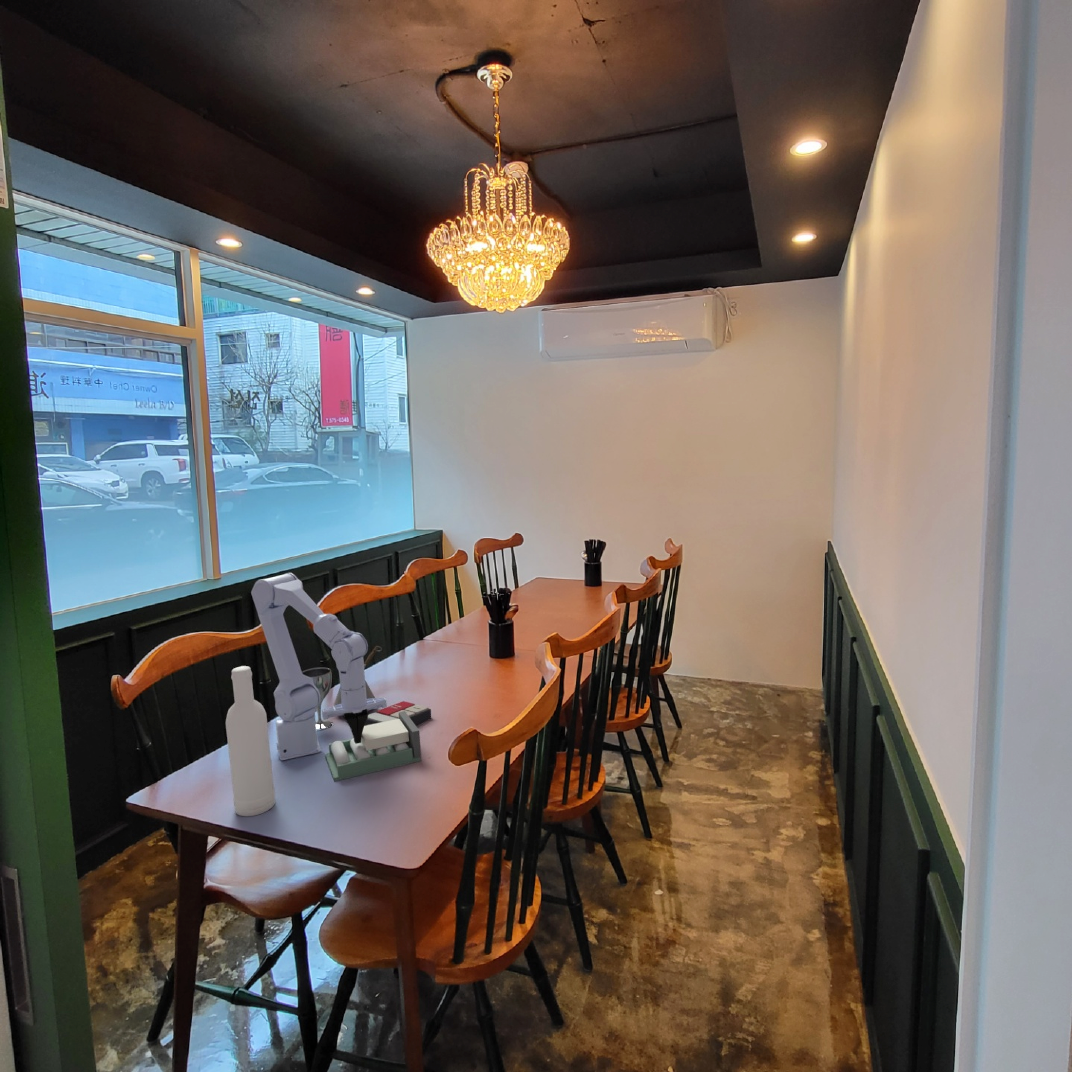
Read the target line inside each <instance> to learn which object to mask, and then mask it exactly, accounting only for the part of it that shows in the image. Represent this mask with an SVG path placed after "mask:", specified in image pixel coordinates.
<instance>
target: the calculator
mask: <svg viewBox="0 0 1072 1072" xmlns="http://www.w3.org/2000/svg"><path fill="white" fill-rule="evenodd" d="M403 711H405V712H406V713H407V715H408V716H409V717H410V719H411V720H412V721H413V723H414V724H415V725H416V727H417V726H420V725H422V724H423V723H425V722H427V721H429V720H431V719H432V709H431V708H430V707H428V706H425V705H421V704H416V703H412V702H409V701H405V700H403V701H400V702H398V703H394V704H392V705H389V706H387V707H386V708H380V709H379V710H377V711H376V712H373V713H370V714H368V718H367V721H366V723H365V725H364V726H367V725H371V724H376V723H381V722H386V721H390V720H395V719H399V712H403Z"/></svg>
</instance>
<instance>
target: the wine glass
mask: <svg viewBox="0 0 1072 1072" xmlns="http://www.w3.org/2000/svg"><path fill="white" fill-rule="evenodd" d="M302 674H303V675H305V676H308V677H310V678H312V680H313V683H314V685H315V686H316V688H317V689H318V690H319V693H320V696H321V701H320V704H319V706H318V707H317V720H316V721H317V722H316V729H325V730H327V727H329V726H332V724H331V723H333V722H334V721H333V722H331V721H332V720H330V721H327V720H328V719H326V720H324V719H322V705H323V702H324V700H325V698H326V697H327V696H328V695H329V693H330V691H331V688H332V670H331V668H328V667H322V666H321V667H312V668H308V669H306V670H303V671H302ZM332 727H333V726H332Z"/></svg>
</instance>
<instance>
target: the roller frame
mask: <svg viewBox="0 0 1072 1072" xmlns="http://www.w3.org/2000/svg"><path fill="white" fill-rule="evenodd" d="M399 719H400V721H401V722H402V723H403V725H404V726H405V728H406V729H407V730H408V735H409V741H408V742H403V743H399V744H394V745H390V746H385V747H381V748H377V749H372V750H368V751H366V749H365V747H364V745H363V743H362V741H361V743H357V744H355V742H354V738H349V739H344V740H336V741H333V742H329V743H328V750H329V752H328V753H327V752H326V753H325V755H324V756H325V760H326V761H327V765H328V768H329V770H330V773H331V776H332V778H333V781H334V782H338V781H341V780H346V779H350V778H354V777H359V776H363V775H366V774H370V773H375V772H380V771H383V770H387V769H392V768H396V767H400V766H405V765H408V764H414V763H417V762H421V761H422V749H421V735H420V728H418V727H417V726H416V725H415V724H414V723H413V721H412V720H411V719H410V717H409V716H408V715H407V713H406V712H405V711H403V712H399Z"/></svg>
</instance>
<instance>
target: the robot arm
mask: <svg viewBox="0 0 1072 1072" xmlns="http://www.w3.org/2000/svg"><path fill="white" fill-rule="evenodd" d="M250 593H251V596H252V600H253V603H254V606H255V609H256V612H257V616H258V619H259V621H260V625H261V628H262V631H263V634H264V637H265V640H266V643H267V646H268V649H269V652H270V655H271V658H272V662H273V665H274V667H275V671H276V674H277V676H278V680H279V683H278V684H277V687H275V690H274V692H273V697H274V701H275V702H274V703H275V705H274V707H275V711H276V715H278V717H279V718H280V719H275V729H276V737H277V738H276V739H277V740H276V741H277V742H276V750H277V751H278V755H279V759H280V761H284V760H285V761H287V760H290V759H291V760H292V759H294V758H295V759H296V758H299V757H305V756H308V755H313V754H318V753H321V752H322V748H321V745H320V742H319V740H318V734H317V732H318V731H316V721H317V720H316V712H317V707H318V706H319V704H320V701H321V696H320V693H319V690H318V689H317V688H316V686H315V685H314V683H313V680H312V678H310V677H308V676H305V675H303V674H302V672H303V671H302V669H301V666H300V662H299V660H298V656H297V654H296V650H295V648H294V644H293V641H292V638H291V636H290V633H289V629H288V626H287V623H286V621H285V616H284V614H285V613H284V612H286V608H287V607H288V606H290V607H292V608H293V609H294V610H296V611H297V612H298V613H299V614H300V615H302V616H303V618H305V619H307V621H309V622H310V623H311V624H312V625H313V628H312V629H313V633H314V634H316V635H317V636H318V637H319V639H321V640H322V641H323V642H324V644H326V645H327V646H328V648H330V649H331V650H330V651H331V652H330V653H331V656H332V658H333V660H334V661H335V664H336V665H335V666H336V669H337V670H338V675H339V677H338V678H339V688H340V690H341V702H342V704H339V705H336V706H334V705H333V706H330V707H326V708H321V717H322V720H330V718H335V717H339V716H343V718H344V720H345V721H346V723H347V725H348V726H349V729H350V732H351V734H352V737H353V738H354V742H355V744H357V743H361V738H362V732H363V728H364V725H365V723H366V721H367V718H368V715H369V712H368V713H367V710H369V711H370V710H374V709H378V708H379V709H384V708H386V707H388V706H387V699H386V697H377V698H376V697H375V698H374V699H367V697H366V685H365V680H366V675H365V668H364V663H365V661H364V656H365V655H366V654H367V652H368V649H369V648H368V647H369V645H368V641H367V639H366V638H365V637H364V635H363V634H362V633H360V632H355V631H353V630H350V629H348V628H347V626H345V625H344V624H343V623H342V622H341V621H340V620H339V619H338V616H336V615H335V614H332V613H324V611H323V610H322V609H321V608H320V607H319V605H317V604H316V602H315V601H314V600H313V599H312V598H311V597H310V596H309V595H308V594H307V592H305V590H304V586H303V582H302V581H301V580H300V579H299V578H298V577H297V575H295V574H294V573H292V572H286V573H284V574H281V575H276V576H273V577H268V578H263V579H258V580H256V581H255V583H254V584H253V587H252V589H251V592H250Z"/></svg>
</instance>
